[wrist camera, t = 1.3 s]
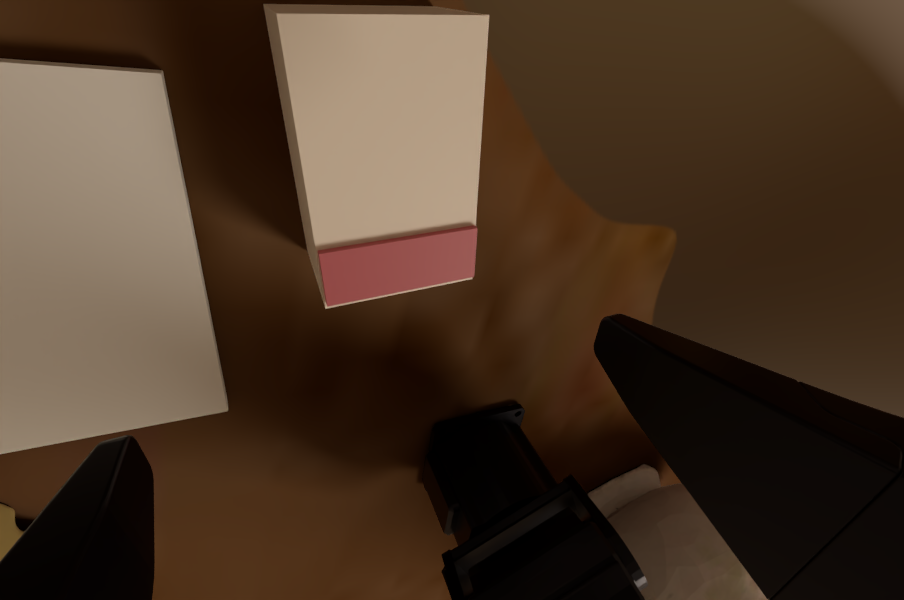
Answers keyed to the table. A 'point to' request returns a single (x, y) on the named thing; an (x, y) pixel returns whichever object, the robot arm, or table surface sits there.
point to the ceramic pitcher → (672, 540)
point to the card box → (383, 141)
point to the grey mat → (96, 259)
